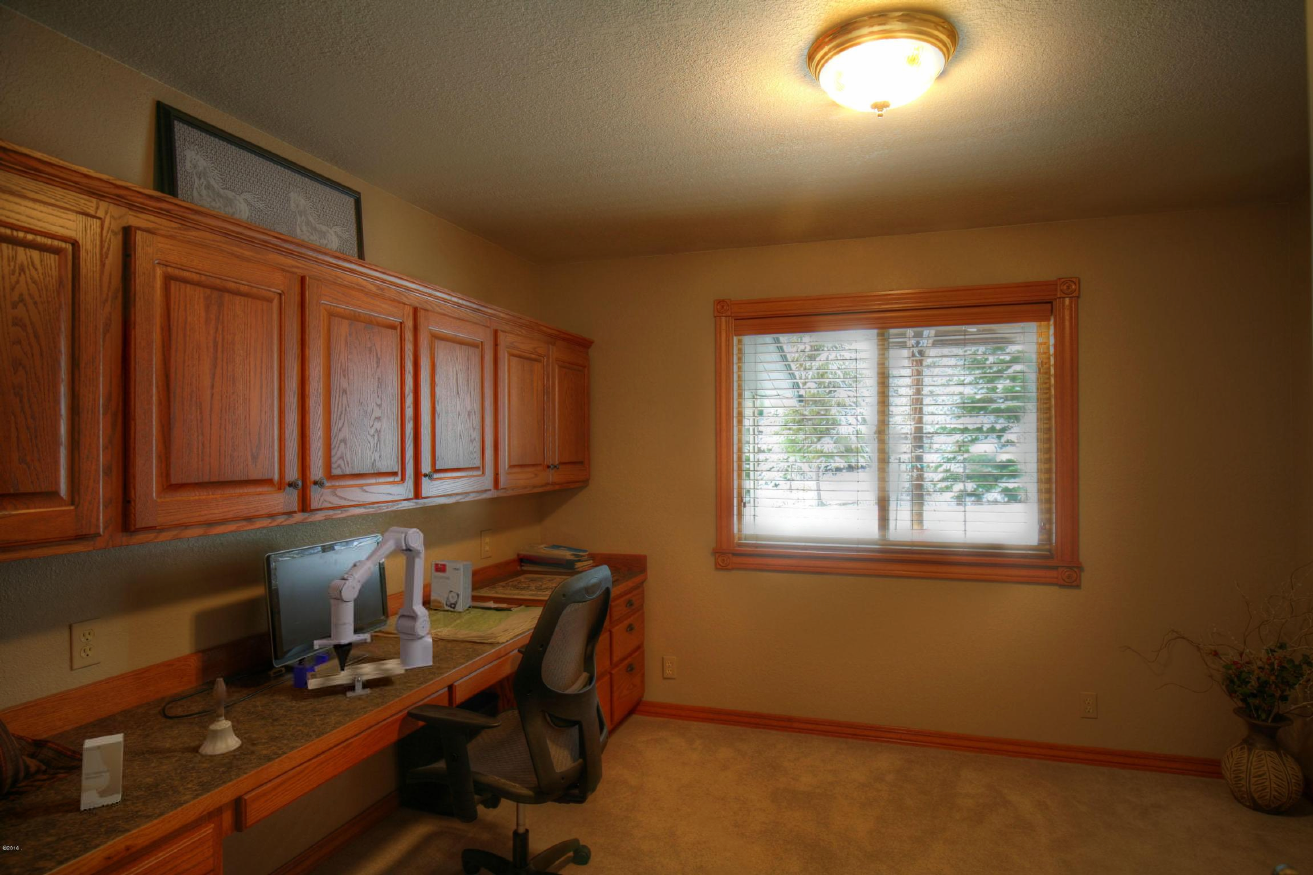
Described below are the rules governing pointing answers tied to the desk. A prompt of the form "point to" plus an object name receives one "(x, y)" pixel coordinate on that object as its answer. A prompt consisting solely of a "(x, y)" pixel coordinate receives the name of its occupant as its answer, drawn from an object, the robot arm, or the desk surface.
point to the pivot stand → (357, 687)
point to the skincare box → (102, 771)
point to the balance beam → (358, 673)
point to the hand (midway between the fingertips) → (342, 670)
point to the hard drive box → (451, 584)
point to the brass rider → (328, 669)
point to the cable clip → (301, 671)
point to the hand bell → (219, 727)
